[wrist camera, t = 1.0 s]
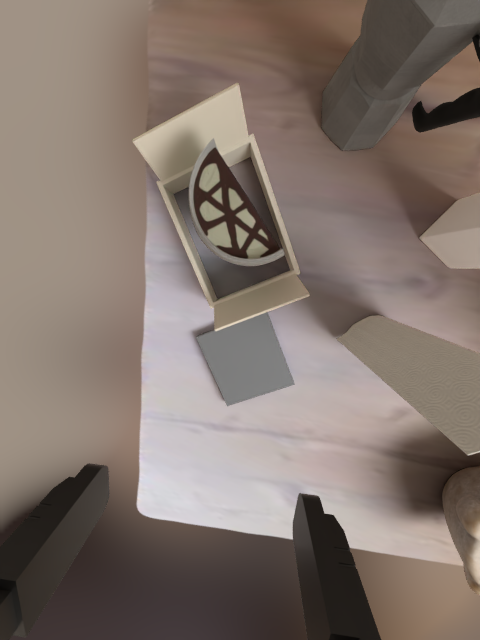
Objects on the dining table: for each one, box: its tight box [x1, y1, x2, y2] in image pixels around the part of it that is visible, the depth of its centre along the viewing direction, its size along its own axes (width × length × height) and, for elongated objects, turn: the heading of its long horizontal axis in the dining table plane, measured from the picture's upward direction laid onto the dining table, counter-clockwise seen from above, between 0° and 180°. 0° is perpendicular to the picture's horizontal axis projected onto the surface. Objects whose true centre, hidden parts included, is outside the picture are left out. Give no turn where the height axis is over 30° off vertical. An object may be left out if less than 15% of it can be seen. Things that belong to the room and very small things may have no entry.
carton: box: [132, 83, 310, 331], centre depth 27 cm, size 12×20×8 cm, turn 22°
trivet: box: [196, 312, 294, 406], centre depth 34 cm, size 11×12×1 cm
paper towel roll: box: [336, 315, 480, 455], centre depth 22 cm, size 7×6×21 cm
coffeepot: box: [321, 0, 480, 150], centre depth 18 cm, size 15×9×18 cm, turn 25°
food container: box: [188, 138, 284, 266], centre depth 26 cm, size 12×6×10 cm, turn 35°
